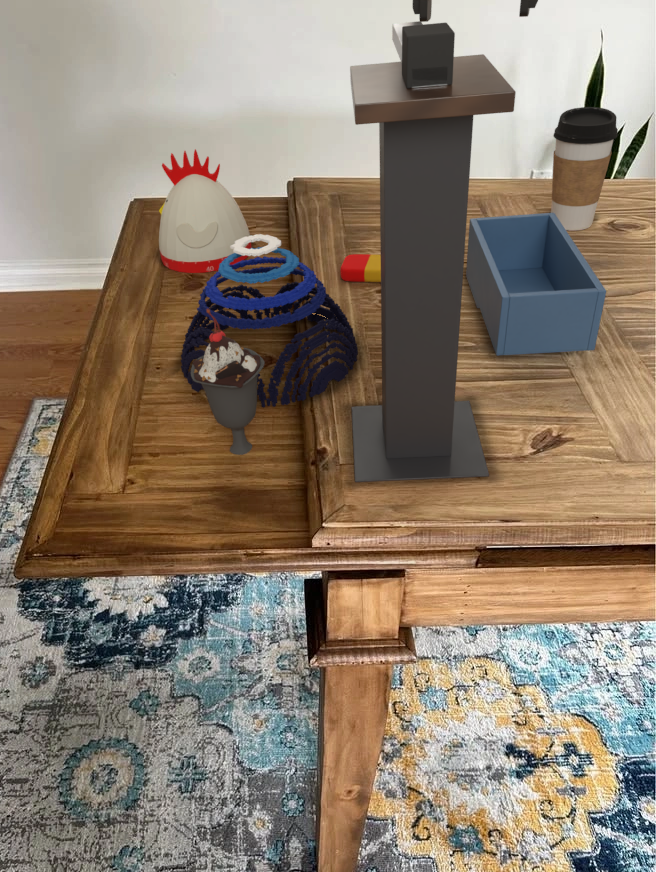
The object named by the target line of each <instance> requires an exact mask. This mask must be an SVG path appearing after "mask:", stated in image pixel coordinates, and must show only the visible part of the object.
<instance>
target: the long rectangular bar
mask: <svg viewBox="0 0 656 872" xmlns="http://www.w3.org/2000/svg"><path fill="white" fill-rule="evenodd" d="M391 27H392V28H391V29H392V30H391V32H392V33H391V34H392V37H391V38H392V39H391V40H392V42H393V45H394V47H395V51H396V53H397V56H398V58H399V60H400V62H401V63H402V77H403V79H404V82H405V85H406V87H407V88H408V89H409V88H422V87H434V86H445V85H452V82H453V61H454V57H455V39H456V38H455V37H456V32H455V31H454V30H453V29H452V27H451V26H450V25H449V24H448V22H436V23H435V22H434V23H425V24H423V22H421V21H420V20H419V21H409V22H407V21H406V22H397V23H392V26H391Z"/></svg>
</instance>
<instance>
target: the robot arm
mask: <svg viewBox="0 0 656 872" xmlns="http://www.w3.org/2000/svg"><path fill="white" fill-rule="evenodd" d="M432 2H433V0H412V11H413V14H414V15H418V17H419V21H421V22H422V23H426V22H429V21H430V20H432V19H431V18H432V8H433V7H432V4H433V3H432ZM538 2H539V0H520V5H519V18H524V17H525V18H526V17H529V15H530V11H531V9H535V8H536V6H537V5H538Z"/></svg>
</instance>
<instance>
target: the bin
mask: <svg viewBox="0 0 656 872" xmlns="http://www.w3.org/2000/svg"><path fill="white" fill-rule="evenodd" d="M467 239H468V240H467V253H466V254H467V256H466V268H465V269H466V271H465V277H466V280H467V283H468V285H469V289H470V291H471V294H472V298H473V300H474V304H475V306H476V308H477V309H479V310H480V313H481V316H482V319H483V323H484V324H485V327H486V330H487V334H488V335H489V339H490V341H491V345H492V347H493V350H494V353H495V356H514V355H515V356H516V355H530V354H534V355H535V354H551V353H567V352H583V351H584V352H586V351H595V350H596V344H597V339H598V335H599V330H600V326H601V319H602V315H603V310H604V305H605V300H606V295H607V290H606V288H605V287H604V285H603V284H602V282H601V281H600V280H599V278H598V276H597V274H596V272H594V270H593V269H592V267H591V265H590V264H589V262H588V261H587V259H586V258H585V257H584V255H583V254H582V252H581V251H580V249H579V247H578V246H577V244H576V243H575V242H574V240H573V239H572V237H571V236H570V233H568V230H565V228H564V227H563V225H562V224H561V222H560V221H559V219H558V218H557V216H556V215H555V213H551V212H543V213H541V212H540V213H531V214H530V213H529V214H528V213H527V214H514V215H513V214H512V215H500V216H499V215H498V216H485V217H474V218H473V217H472V218H469V223H468V238H467Z"/></svg>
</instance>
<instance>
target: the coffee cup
mask: <svg viewBox="0 0 656 872" xmlns="http://www.w3.org/2000/svg"><path fill="white" fill-rule="evenodd" d="M618 131H619V129H618V128H617V115H616V114H615V113H614V112H613V111H611V110H610V109H607V108H604V107H595V106H582V107H574V108H570V109H568V110H565V111H564V112H562V113H561V115H559V119H558V124H557V126H556V128H555V129H554V133H553V135H552V136H553V138H554V139H555V149H554V150H553V159H552V181H551V182H552V183H551V184H552V185H551V209H550V213H555V215H556V216H557V218H558V219H559V221H560V222H561V224H562V225H563V227H564V228H565V230H566V231H571V232H573V231H574V232H575V231H583V230H586V229H589V228H590V227H592V225H593V222H594V219H595V214H596V210H597V207H598V203H599V200H600V197H601V193H602V189H603V186H604V182H605V179H606V174H607V171H608V167H609V164H610V161H611V156H612V147H613V144H614V140H615V139H616V138H618Z"/></svg>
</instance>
